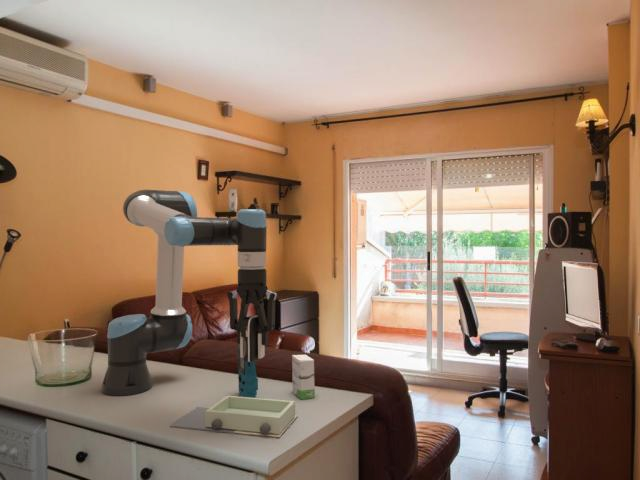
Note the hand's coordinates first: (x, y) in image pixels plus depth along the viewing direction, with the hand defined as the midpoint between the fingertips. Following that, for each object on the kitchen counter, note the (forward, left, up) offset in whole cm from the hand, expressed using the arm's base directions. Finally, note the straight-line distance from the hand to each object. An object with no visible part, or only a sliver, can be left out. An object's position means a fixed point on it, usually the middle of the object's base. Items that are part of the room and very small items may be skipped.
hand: (252, 356), depth 134 cm
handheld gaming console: (-10, +21, -18) cm, 29 cm away
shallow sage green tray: (0, 0, -18) cm, 18 cm away
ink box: (+6, +27, -18) cm, 33 cm away
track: (-5, 0, -18) cm, 18 cm away
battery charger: (0, 0, -1) cm, 1 cm away
